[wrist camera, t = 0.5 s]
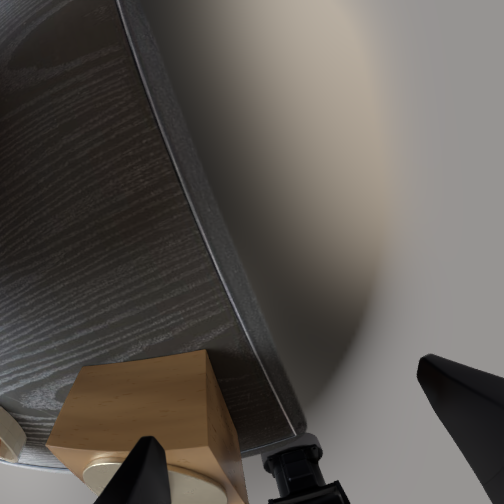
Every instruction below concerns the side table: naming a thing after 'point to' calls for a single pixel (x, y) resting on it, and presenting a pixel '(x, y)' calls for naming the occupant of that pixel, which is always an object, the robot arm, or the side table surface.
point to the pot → (10, 437)
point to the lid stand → (152, 418)
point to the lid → (181, 482)
